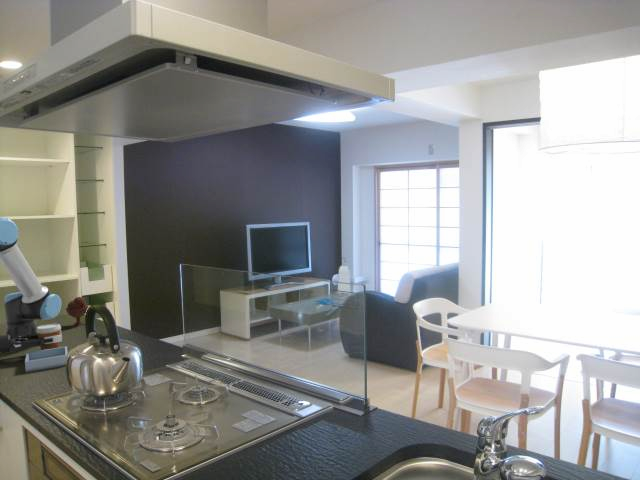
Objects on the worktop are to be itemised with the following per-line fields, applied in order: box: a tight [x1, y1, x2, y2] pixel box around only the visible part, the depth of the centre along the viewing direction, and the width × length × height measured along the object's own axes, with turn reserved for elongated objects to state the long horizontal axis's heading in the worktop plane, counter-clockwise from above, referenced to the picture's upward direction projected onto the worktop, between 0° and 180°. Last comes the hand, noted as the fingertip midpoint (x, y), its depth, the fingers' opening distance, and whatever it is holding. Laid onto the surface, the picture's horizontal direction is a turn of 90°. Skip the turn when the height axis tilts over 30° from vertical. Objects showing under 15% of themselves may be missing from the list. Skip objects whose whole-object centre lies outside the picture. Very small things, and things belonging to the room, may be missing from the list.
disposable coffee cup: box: [36, 323, 62, 350], centre depth 214 cm, size 10×10×12 cm
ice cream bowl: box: [65, 296, 90, 327], centre depth 266 cm, size 11×11×15 cm
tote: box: [24, 346, 69, 373], centre depth 201 cm, size 15×15×4 cm
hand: (61, 335), depth 216 cm, fingers closed on disposable coffee cup, 8 cm apart
